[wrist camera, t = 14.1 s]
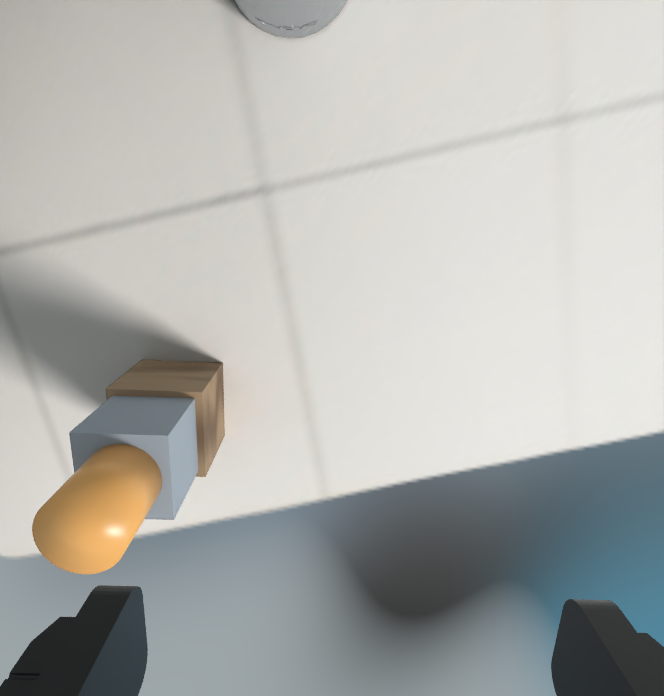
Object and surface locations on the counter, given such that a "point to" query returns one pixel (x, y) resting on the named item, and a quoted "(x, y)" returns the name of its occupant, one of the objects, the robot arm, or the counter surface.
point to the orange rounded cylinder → (98, 510)
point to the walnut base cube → (183, 396)
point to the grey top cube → (146, 441)
